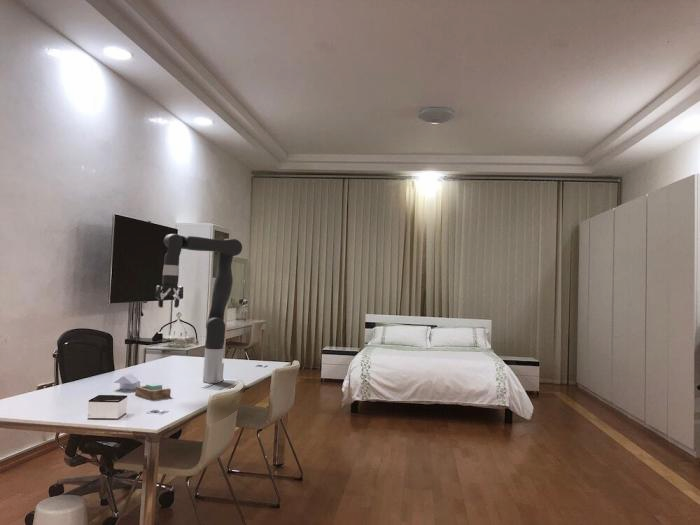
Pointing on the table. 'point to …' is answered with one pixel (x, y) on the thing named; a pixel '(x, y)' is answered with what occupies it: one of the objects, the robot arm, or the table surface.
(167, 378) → the table surface
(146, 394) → the walnut bay
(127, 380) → the white toy house
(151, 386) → the teal block
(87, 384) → the table surface
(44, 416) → the table surface
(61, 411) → the table surface
